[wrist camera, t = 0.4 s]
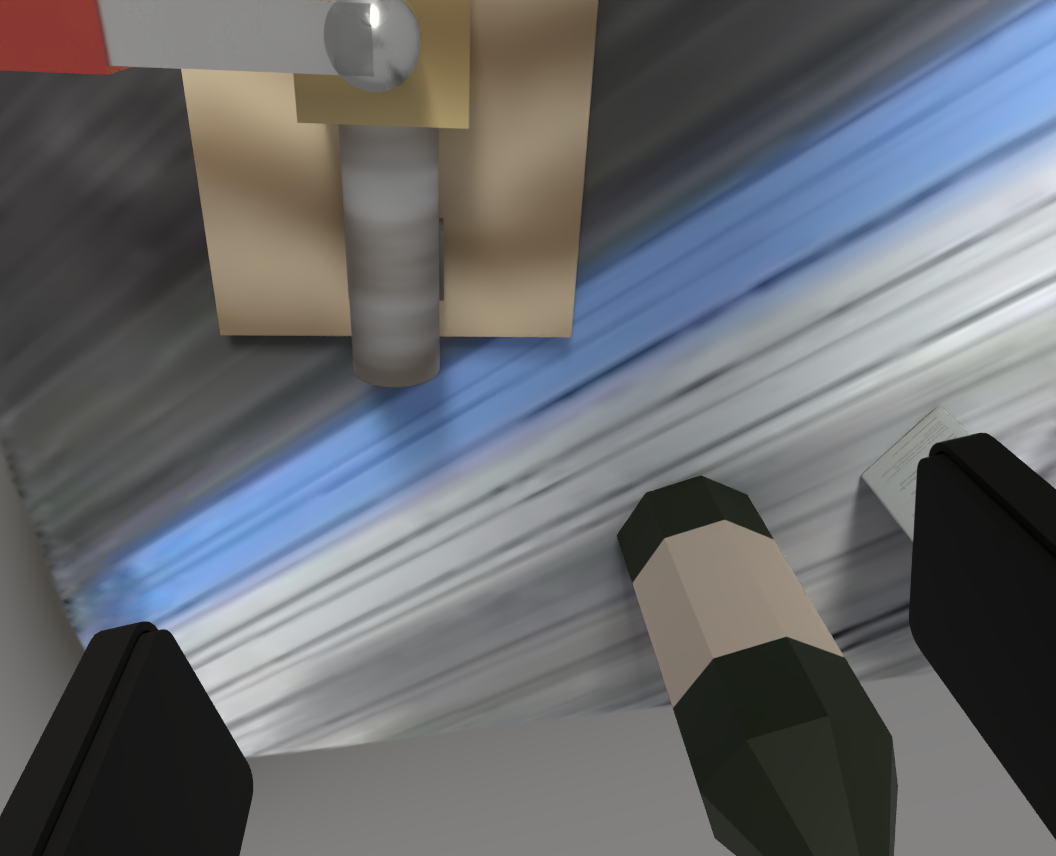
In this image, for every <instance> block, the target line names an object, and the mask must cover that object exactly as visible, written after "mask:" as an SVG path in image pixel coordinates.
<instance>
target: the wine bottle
mask: <svg viewBox="0 0 1056 856" xmlns="http://www.w3.org/2000/svg"><path fill="white" fill-rule="evenodd" d="M617 537H618V540H619V543H620V546H621V550H622V553H623V556H624V559H625V562H626V565H627V568H628V571H629V575H630V578H631V581H632V584H633V587H634V590H635V593H636V596H637V599H638V602H639V605H640V609H641V612H642V615H643V618H644V621H645V624H646V627H647V630H648V633H649V636H650V639H651V643H652V646H653V649H654V652H655V655H656V658H657V661H658V664H659V667H660V670H661V673H662V676H663V680H664V683H665V686H666V689H667V692H668V695H669V698H670V701H671V704H672V707H673V710H674V713H675V717H676V719H677V723H678V726H679V729H680V732H681V735H682V738H683V741H684V744H685V747H686V751H687V754H688V757H689V760H690V763H691V766H692V769H693V772H694V775H695V778H696V781H697V785H698V788H699V791H700V794H701V797H702V800H703V803H704V806H705V809H706V812H707V815H708V818H709V822H710V825H711V828H712V831H713V834H714V837H715V839H717V840H718V841H719V842H720V843H721V844H723V845H724V846H725V847H727V849H729V850H730V851H731V852H732V853H734V854H735V855H736V856H894V841H895V824H896V808H897V791H898V784H897V775H896V767H895V757H894V749H893V741H892V736H891V734H890V732H889V731H888V729H887V727H886V726H885V724H884V722H883V721H882V719H881V717H880V716H879V714H878V712H877V711H876V709H875V707H874V706H873V704H872V702H871V701H870V699H869V697H868V696H867V694H866V693H865V691H864V689H863V687H862V686H861V684H860V682H859V681H858V679H857V677H856V676H855V674H854V672H853V671H852V669H851V667H850V666H849V664H848V662H847V661H846V659H845V657H844V656H843V654H842V652H841V651H840V649H839V647H838V646H837V644H836V642H835V641H834V639H833V637H832V636H831V634H830V632H829V631H828V629H827V627H826V626H825V624H824V622H823V621H822V619H821V617H820V616H819V614H818V612H817V611H816V609H815V607H814V606H813V604H812V602H811V601H810V599H809V597H808V596H807V594H806V592H805V591H804V589H803V587H802V586H801V584H800V582H799V581H798V579H797V577H796V576H795V574H794V572H793V571H792V569H791V567H790V565H789V564H788V562H787V560H786V559H785V557H784V555H783V554H782V552H781V550H780V549H779V547H778V545H777V544H776V542H775V540H774V539H773V537H772V535H771V534H770V532H769V530H768V529H767V527H766V525H765V524H764V522H763V520H762V519H761V517H760V515H759V514H758V512H757V510H756V509H755V507H754V505H753V504H752V502H751V500H750V499H749V497H748V495H746V494H744V493H741V492H739V491H737V490H734V489H732V488H730V487H727V486H725V485H722V484H720V483H718V482H715V481H713V480H711V479H708V478H706V477H703V476H698V477H695V478H692V479H689V480H686V481H682V482H679V483H676V484H673V485H670V486H666V487H663V488H660V489H657V490H654V491H650V492H647V493H646V494H645V495H644V497H643V498H642V499H641V501H640V502H639V504H638V505H637V507H636V508H635V510H634V511H633V513H632V514H631V516H630V517H629V519H628V520H627V521H626V523H625V524H624V526H623V527H622V529H621V530H620V532H619V533H618V535H617Z"/></svg>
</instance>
